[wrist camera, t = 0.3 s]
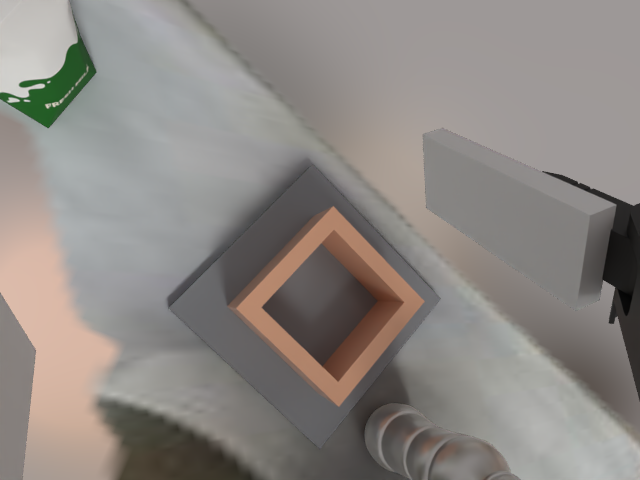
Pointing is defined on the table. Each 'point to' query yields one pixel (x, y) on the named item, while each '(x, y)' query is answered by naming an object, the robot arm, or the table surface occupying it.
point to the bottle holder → (308, 305)
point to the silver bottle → (429, 448)
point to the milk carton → (41, 57)
